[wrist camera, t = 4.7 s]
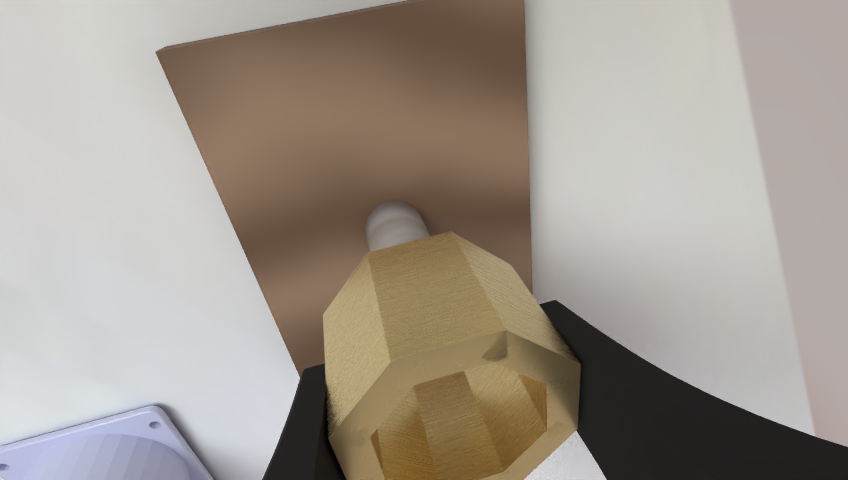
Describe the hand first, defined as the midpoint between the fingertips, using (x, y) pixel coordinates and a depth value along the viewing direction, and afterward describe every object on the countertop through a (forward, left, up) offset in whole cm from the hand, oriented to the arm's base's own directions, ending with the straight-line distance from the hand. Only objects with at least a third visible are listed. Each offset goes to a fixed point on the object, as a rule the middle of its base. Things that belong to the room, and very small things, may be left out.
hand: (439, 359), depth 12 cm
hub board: (0, 0, -9) cm, 9 cm away
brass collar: (0, 0, -2) cm, 2 cm away
